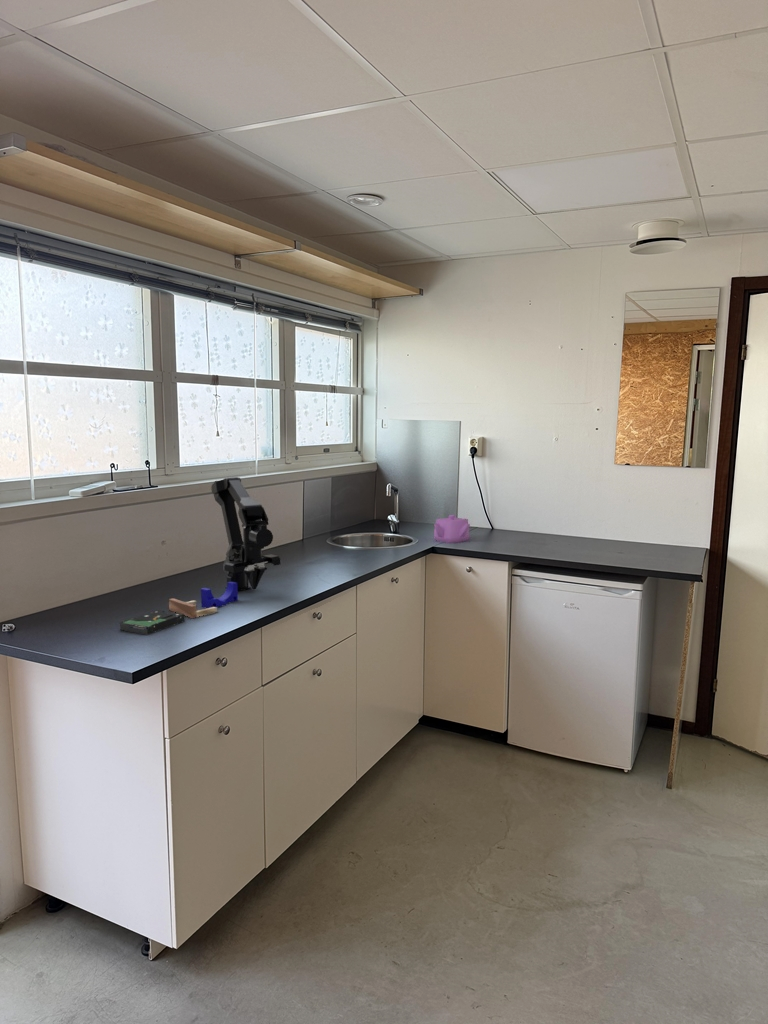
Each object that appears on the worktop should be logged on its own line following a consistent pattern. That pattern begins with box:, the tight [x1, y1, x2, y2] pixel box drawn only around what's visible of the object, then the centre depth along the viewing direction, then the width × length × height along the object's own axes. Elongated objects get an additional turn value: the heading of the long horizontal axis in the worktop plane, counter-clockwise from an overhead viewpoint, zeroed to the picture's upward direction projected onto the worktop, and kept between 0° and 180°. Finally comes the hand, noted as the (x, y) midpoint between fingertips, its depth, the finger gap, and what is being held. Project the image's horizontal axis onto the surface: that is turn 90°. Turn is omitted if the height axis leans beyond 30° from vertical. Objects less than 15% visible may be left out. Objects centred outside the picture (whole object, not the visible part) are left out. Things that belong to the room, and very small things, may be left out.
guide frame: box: [168, 598, 218, 619], centre depth 212 cm, size 8×13×4 cm, turn 47°
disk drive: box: [119, 609, 185, 635], centre depth 198 cm, size 10×3×15 cm
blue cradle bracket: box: [200, 581, 239, 609], centre depth 220 cm, size 12×4×6 cm, turn 142°
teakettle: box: [433, 514, 471, 544], centre depth 335 cm, size 17×17×12 cm
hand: (254, 589), depth 228 cm, fingers closed
